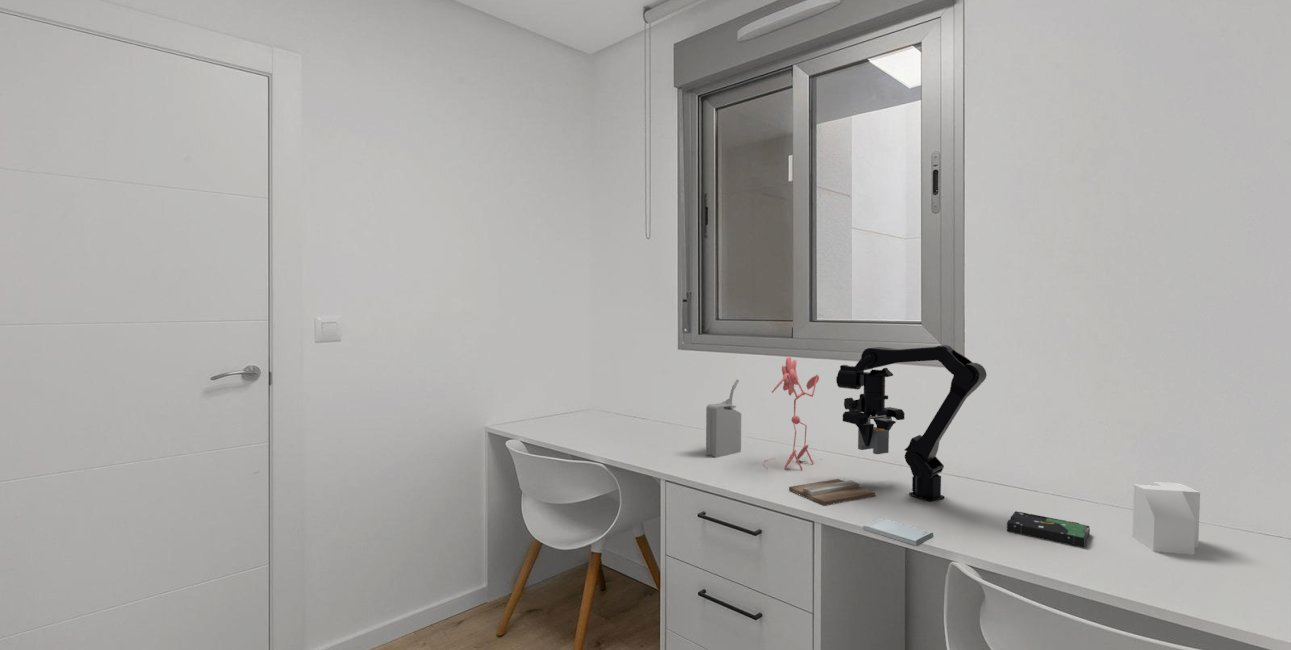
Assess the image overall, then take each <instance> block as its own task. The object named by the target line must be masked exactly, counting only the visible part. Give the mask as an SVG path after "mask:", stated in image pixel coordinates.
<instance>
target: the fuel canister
mask: <svg viewBox="0 0 1291 650" xmlns="http://www.w3.org/2000/svg"><path fill="white" fill-rule="evenodd" d="M739 382H740V380H739V379H735V382H734V383H733V385H732V386H731V390H730V393H729V397H728V399H726V400H725V401H722V402H718V403H711V404H707V405H706V409H705V410H706V411H705V412H706V415H705V416H706V417H705V419H706V421H705V428H706V429H705V433H706V434H705V455H706V456H711V457H715V458H720V457H725V456H728V455H729V456H730V455H732V454H733V455H734V454H737V453H741V452H742V413H741V412H740V411H737V410H736V409H735V408H736V407H737V406H736V405H733V397H734V396H733V395H734V392H735V390H736V388H737V385H738V384H739Z"/></svg>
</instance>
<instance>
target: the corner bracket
mask: <svg viewBox="0 0 1291 650" xmlns="http://www.w3.org/2000/svg"><path fill="white" fill-rule="evenodd" d="M1132 508H1133V509H1132V510H1133V511H1132V535H1131V536H1132V537H1131V538H1133V539H1134V538H1135V539H1134V540H1136V541H1137V540H1138V541H1137V542H1139V543H1140V542H1141V543H1140V544H1141V545H1143V544H1144V545H1145V546H1144V545H1143V546H1144V547H1146V548H1147V547H1148V548H1147V549H1149V550H1151V551H1152V552H1154V553H1155V552H1158V553H1169V554H1170V553H1171V554H1180V555H1195V548H1199V540H1200V539H1199V535H1200V511H1201V509H1200V508H1201V491H1198V490H1195V488H1192V487H1190V486H1187V485H1185V484H1183V483H1178V482H1167V481H1165V482H1164V481H1162V482H1161V481H1153V482H1152V485H1150V484H1149V485H1148V484H1137V483H1136V484H1133V507H1132Z"/></svg>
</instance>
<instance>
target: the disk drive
mask: <svg viewBox="0 0 1291 650" xmlns="http://www.w3.org/2000/svg"><path fill="white" fill-rule="evenodd" d="M1006 531H1007V533H1008V532H1010V533H1013V534H1017V535H1018V534H1019V535H1022V536H1028V537H1033V538H1037V539H1041V540H1047V541H1051V542H1055V543H1059V542H1060V544H1065V545H1068V544H1069V545H1070V546H1074V547H1080V548H1084V549H1085V548H1086V546H1087V542H1088V540H1089V538H1090V534H1091V533H1090V532H1091V528H1090V526H1089V525H1086V524H1082V523H1079V522H1074V521H1070V520H1069V521H1068V520H1063V519H1060V518H1059V519H1058V518H1053V517H1048V516H1044V515H1043V516H1042V515H1038V514H1032V513H1028V512H1023V511H1017V510H1015V511H1014V512H1013V514H1012V515H1011V516H1010V517H1009V519H1008V520H1007V522H1006Z"/></svg>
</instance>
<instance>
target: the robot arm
mask: <svg viewBox="0 0 1291 650" xmlns="http://www.w3.org/2000/svg"><path fill="white" fill-rule="evenodd" d="M860 357H861V358H860V360H858V362H857V363H856V364H855V366H854V365H848V364H841V365H839V370H838V372H837V376H836V379H835V382H836V385H837V387H838V388H839V389H840V388H842V389H849V390H857V391H858V390H860V389H861V388H862V387H863V393H860V394H859V398H858V399H854V398H853V397H847V398H844V399H843V400H844V401H843V407H844V409H845V410H848V411H844V412H843V413H842V422H844V423H849V424H854V425H855V426H856V427H857V428H859V430H860V432H861V435H862V438H863V441H864V444H865V446H867V447H869V445H870V441H871V437H872V432H873V428H874V427H875V425H876V427H877V428H881V429H884V430H888V431H889V432H890V430H891V429H892V427H893V426H894V424H896V423H897V421H901V420H905V414H906V413H905V412H904V410H903V409H902V408H897V407H891V406H890V407H886V405H885V403H886V402H885V401H886V400H889V395H886V378H890V377H894V374H893V372H891V371H890V370H889V369H888V367H886V366H889V365H893V364H899V363H912V362H913V363H914V362H927V361H928V362H929V361H938V362H939V363H941V364H942V366H943V367H944V368H945V369H946V370H947V372H949V373H950V374H951V375H952V379H951V382H950V388H949V392H948V394H947V395H946V397H945V399H944V400H943V401H942V404H941V405H940V407H939V408H938V409H937V412H936V413H935V414H934V417H933V418H932V420H931V422H930V423H929V425H928V426H927V428H926V429H925V432H924V433H923V434H922V435H921V434H918V435H917V436H914V437H912V438H911V439H910V442H909V444H908V446H907V447H906V448H905V449H904V450H903V451H905V453H904V459H905V463H906V464H907V465H908V467H909V468H910V470H911V474H912V475H913V476H912V480H911V482H912V483H911V484H912V485H911V487H912V488H911V492H909V493H908V494H909V495H910V496H913V497H915V498H919V499H921V500H924V501H927V502H932V501H936V500H942V499H945V498H946V497H945V495H943V494H942V493H941V492H942V475H939V474H940V473H942V472H943V469H944V464H943V463H942V462H941V461H940V460H939V459H938V457H937V454H938V451H939V447H940V442H941V440H942V437H944V435H945V433H946V431H947V430H948V429H949V426H950V425H951V424H952V422H953V421H954V419H955V417H956V416H957V414H958V412H959V411H960V409H961V407H962V406H963V405H964V403H965V401H966V399H968V397H969V396H971V394H973V393H974V392H975V391H976V390H977V388H979V387H980V386H981V385H982V383H983V382H985V380H986V379H987V371H986V369H985V367H984V366H983V365H982V364H980V363H978V362H973V361H971V360H970V359H969V358H968V357H966V356H965V355H962V354H961V353H960V352H958V351H956V350H954V349H953V348H952V347H951V346H950V345H947V344H942V345H937V346H928V347H926V346H925V347H916V348H914V347H913V348H904V349H903V348H900V349H898V348H891V347H882V346H875V347H868V348H866V349H864V350H863V351H862V352H861V356H860ZM881 367H884V368H882V369H875V368H881ZM867 370H870V371H869V372H868V371H867ZM893 419H895V420H896V421H895V420H893ZM871 420H873V421H874V423H875V424H874V423H871Z"/></svg>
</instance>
